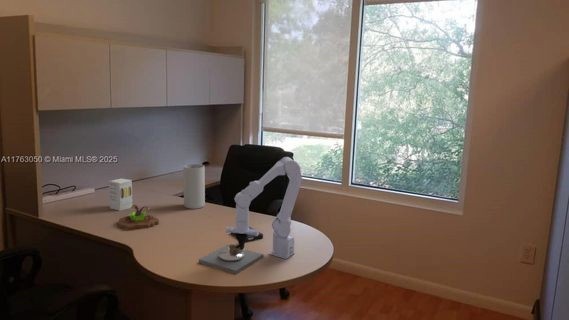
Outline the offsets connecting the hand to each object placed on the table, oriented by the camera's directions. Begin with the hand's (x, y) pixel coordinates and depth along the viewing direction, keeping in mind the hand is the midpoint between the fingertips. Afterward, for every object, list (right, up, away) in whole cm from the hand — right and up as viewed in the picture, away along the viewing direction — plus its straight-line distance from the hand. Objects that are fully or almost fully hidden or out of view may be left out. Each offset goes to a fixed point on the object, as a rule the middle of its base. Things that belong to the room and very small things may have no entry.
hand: (241, 249), depth 194 cm
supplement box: (-78, +11, +67) cm, 104 cm away
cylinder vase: (-36, +11, +74) cm, 83 cm away
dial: (-3, -2, -2) cm, 4 cm away
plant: (-60, +5, +41) cm, 73 cm away
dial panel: (-4, -4, -2) cm, 6 cm away
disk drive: (0, +1, +27) cm, 27 cm away
